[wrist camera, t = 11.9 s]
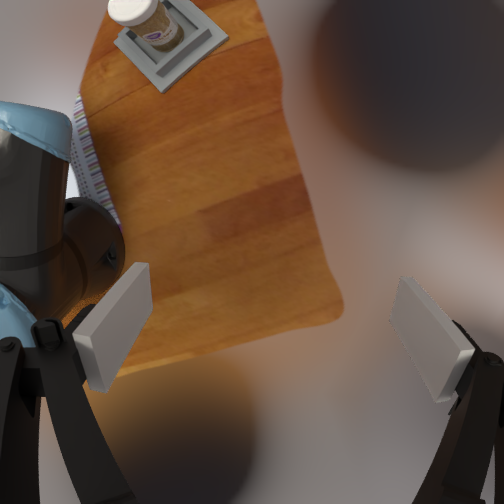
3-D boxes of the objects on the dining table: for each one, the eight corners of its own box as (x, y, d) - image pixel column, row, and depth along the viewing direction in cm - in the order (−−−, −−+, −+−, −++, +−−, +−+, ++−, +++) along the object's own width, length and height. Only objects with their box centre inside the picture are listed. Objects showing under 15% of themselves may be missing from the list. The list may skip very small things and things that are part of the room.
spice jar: (159, 59, 33) (114, 30, 21) (146, 33, 32) (100, -2, 19) (191, 41, 33) (159, 3, 20) (177, 16, 31) (142, -28, 19)
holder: (163, 93, 36) (153, 89, 32) (116, 44, 33) (103, 36, 29) (229, 38, 33) (225, 28, 29) (177, -9, 31) (169, -21, 27)
